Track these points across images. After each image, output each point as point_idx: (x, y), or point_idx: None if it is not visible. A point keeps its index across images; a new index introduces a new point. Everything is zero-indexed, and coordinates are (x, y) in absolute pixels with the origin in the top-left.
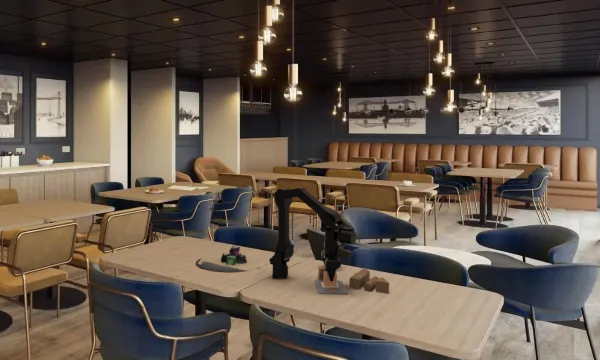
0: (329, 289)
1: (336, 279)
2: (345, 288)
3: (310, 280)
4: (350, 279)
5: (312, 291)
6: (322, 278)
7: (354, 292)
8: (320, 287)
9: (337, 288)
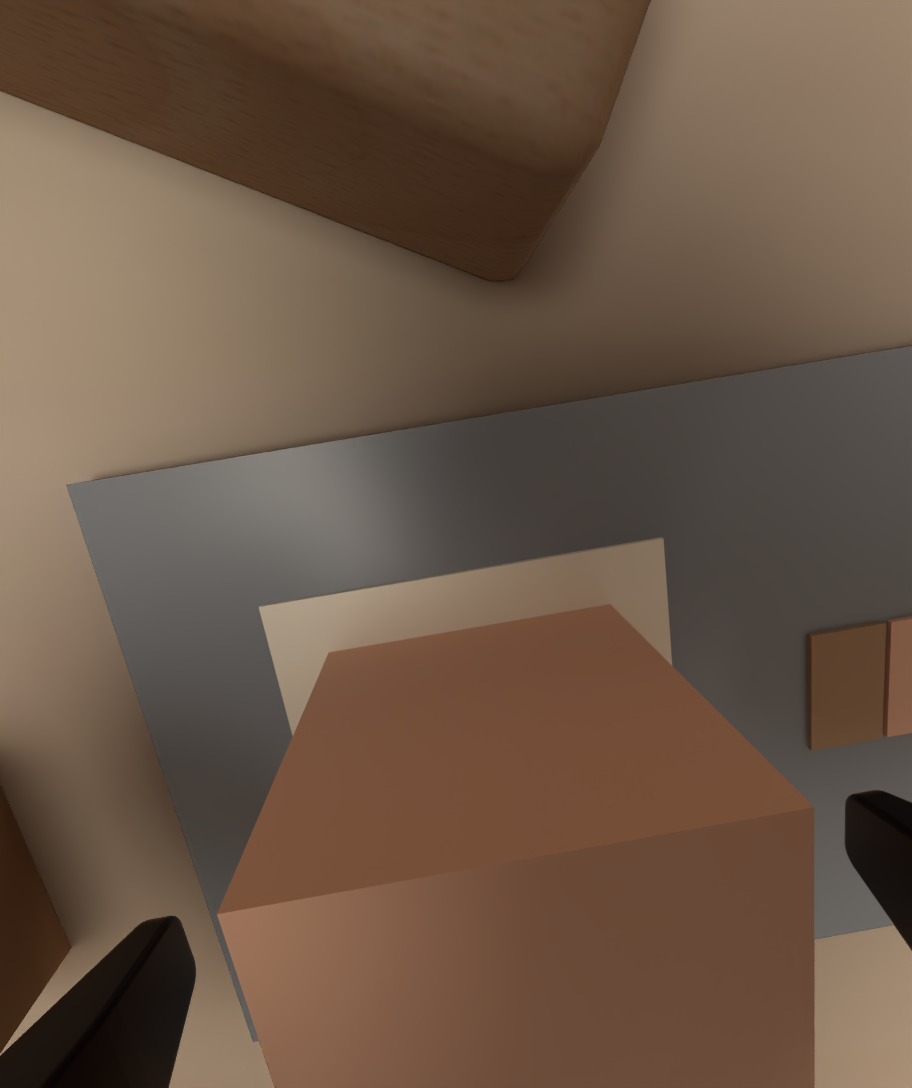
0: (835, 737)
1: (693, 697)
2: (735, 384)
3: (177, 1077)
4: (590, 152)
5: (819, 974)
6: (29, 925)
7: (895, 150)
8: None
9: (741, 577)
